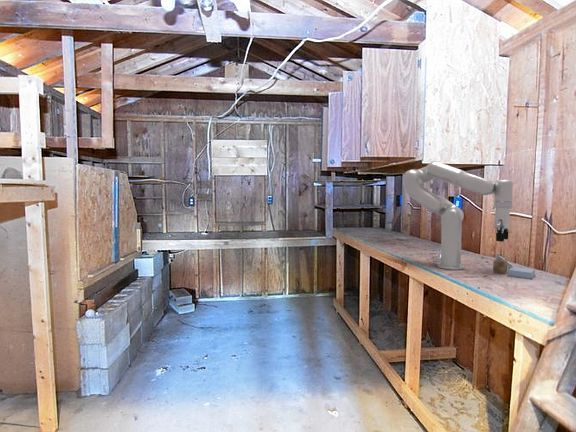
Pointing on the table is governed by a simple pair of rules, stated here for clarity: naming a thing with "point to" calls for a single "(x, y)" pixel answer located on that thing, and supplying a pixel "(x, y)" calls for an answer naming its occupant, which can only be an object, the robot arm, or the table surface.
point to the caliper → (503, 259)
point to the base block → (521, 272)
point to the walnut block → (500, 266)
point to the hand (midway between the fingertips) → (502, 240)
